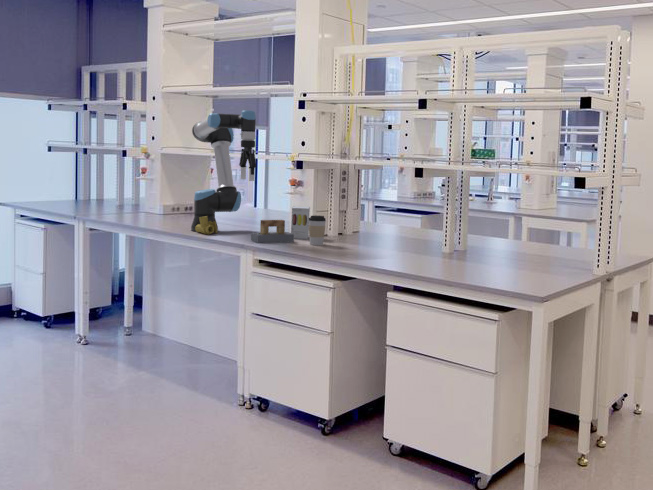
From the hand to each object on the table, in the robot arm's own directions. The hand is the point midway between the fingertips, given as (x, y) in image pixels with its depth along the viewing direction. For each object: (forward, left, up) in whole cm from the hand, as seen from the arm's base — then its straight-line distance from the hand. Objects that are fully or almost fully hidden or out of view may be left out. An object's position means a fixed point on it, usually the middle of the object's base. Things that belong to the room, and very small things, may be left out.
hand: (247, 180), depth 388 cm
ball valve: (-19, -16, -31) cm, 40 cm away
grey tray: (+18, +8, -31) cm, 36 cm away
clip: (+18, +8, -31) cm, 36 cm away
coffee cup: (+34, +26, -31) cm, 53 cm away
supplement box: (+8, +28, -31) cm, 42 cm away
